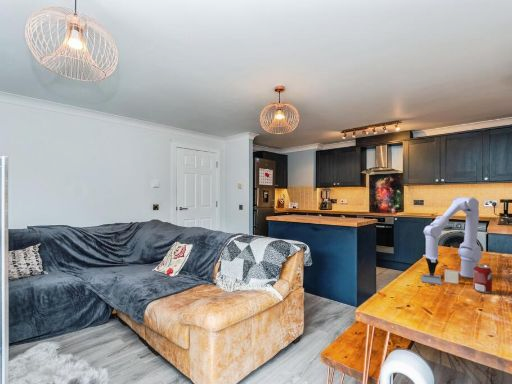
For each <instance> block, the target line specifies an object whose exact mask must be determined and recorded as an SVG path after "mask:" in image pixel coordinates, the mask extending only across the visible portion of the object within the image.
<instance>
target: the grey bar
mask: <svg viewBox="0 0 512 384" xmlns="http://www.w3.org/2000/svg"><path fill="white" fill-rule="evenodd" d="M422 277H430V278H437V279H440V280H442V277H441V275H439V274H435V273H434V274H433V273H430V272H429V273H422Z"/></svg>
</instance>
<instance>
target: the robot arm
mask: <svg viewBox="0 0 512 384" xmlns="http://www.w3.org/2000/svg"><path fill="white" fill-rule="evenodd" d="M479 204H480V201H479V200H477V199H476V197H473V196H472V197H468V196H467V197H463V196H461V197H460V196H456V197H455V198H454V199H453V200H452V201H451V205H450V206H449V207H448V208H447V210H445V212H444V213H443V214H442V215H438V216H436V217H435V219H434V220H433V221H432V222H431V223H430V224H429V225H426V226H425V227H424V229H423V230H422V232H423V234H424V238H425V254H423V255H422V257H424V258H425V261H426V264H427V266H428V267H427V268H428V272H429V274H430V273H433V274H434V275H435V273H436V270H437V266H438V265H439V261H438V259H439V237H440V236H441V235H442V231H443V229H444V228H445V227H446V226H448V224H449V223H450V221H449V220H450V219H451V218H452V217H453V216H455V214H456V213H458V212H459V211H463V212H464V214H465V215H466V216H465V224H464V225H465V228H464V238H463V241H462V243H460V244H459V248H458V249H457V253H458V256H459V257H460V259H461V262H460V271H459V270H458V271H459V275H460V276H461V277H462V278H463V277H464V278H471V279H473V274H474V267H475V265H479V262H480V261H481V260H482V258H483V254H482V248H481V246H480V245H478V243H477V241H478V231H479V230H478V229H479V218H480V210H479Z"/></svg>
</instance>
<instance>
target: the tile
mask: <svg viewBox="0 0 512 384" xmlns="http://www.w3.org/2000/svg"><path fill="white" fill-rule="evenodd" d="M459 277H460V273H459V270H455V269H454V270H453V269H443V282H444V283H445V284H455V285H460V278H459Z"/></svg>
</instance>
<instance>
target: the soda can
mask: <svg viewBox="0 0 512 384" xmlns="http://www.w3.org/2000/svg"><path fill="white" fill-rule="evenodd" d="M472 279H473V287H472V288H473V290H475V291H476V292H477V293H481V294H489V293H492V292H493V271H492V269H491V266H489V265H486V264H478V265H475V267H474V274H473V278H472Z"/></svg>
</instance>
